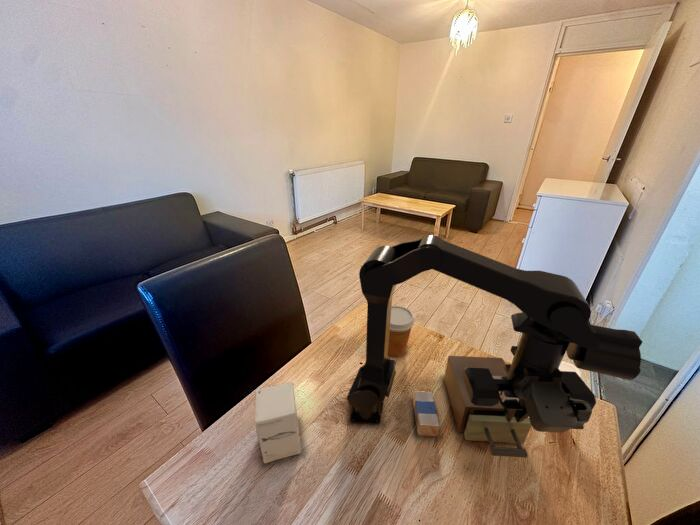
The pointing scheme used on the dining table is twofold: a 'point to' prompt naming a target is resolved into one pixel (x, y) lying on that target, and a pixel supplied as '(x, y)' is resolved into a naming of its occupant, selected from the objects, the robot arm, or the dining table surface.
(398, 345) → the orange tub
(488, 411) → the drawer
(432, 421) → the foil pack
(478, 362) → the cabinet
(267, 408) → the white packaging box
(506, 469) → the dining table surface
